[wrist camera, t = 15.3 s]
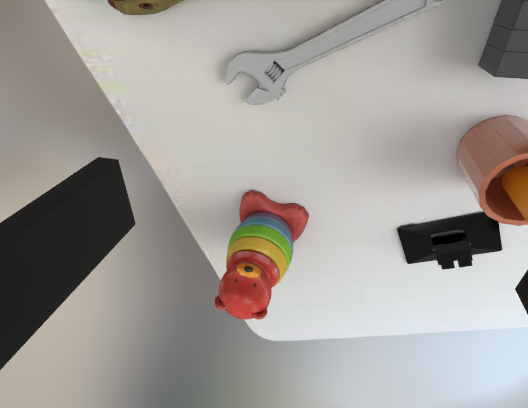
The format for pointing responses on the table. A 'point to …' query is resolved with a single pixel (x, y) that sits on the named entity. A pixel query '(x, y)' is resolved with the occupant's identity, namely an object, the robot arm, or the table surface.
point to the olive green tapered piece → (141, 6)
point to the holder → (508, 42)
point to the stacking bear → (258, 254)
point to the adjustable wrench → (320, 46)
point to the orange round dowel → (517, 187)
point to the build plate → (450, 239)
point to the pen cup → (494, 164)
